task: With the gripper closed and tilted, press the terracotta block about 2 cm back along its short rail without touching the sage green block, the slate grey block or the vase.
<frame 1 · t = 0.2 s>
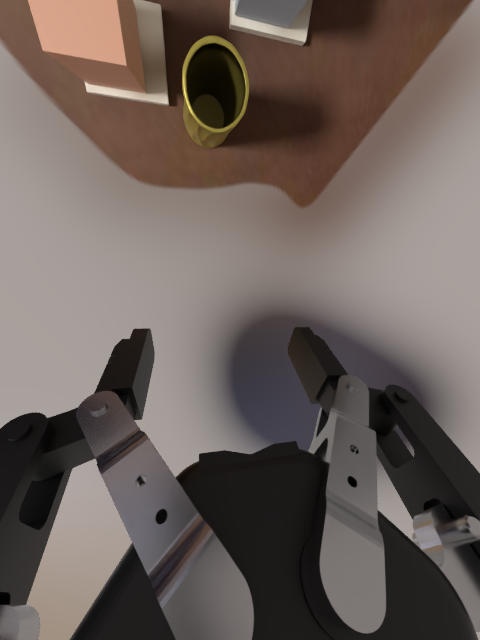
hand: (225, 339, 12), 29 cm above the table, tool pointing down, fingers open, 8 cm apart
terracotta block: (95, 26, 19), point 6 cm above the table, slide at 0.0 cm
vase: (207, 118, 28), on the table
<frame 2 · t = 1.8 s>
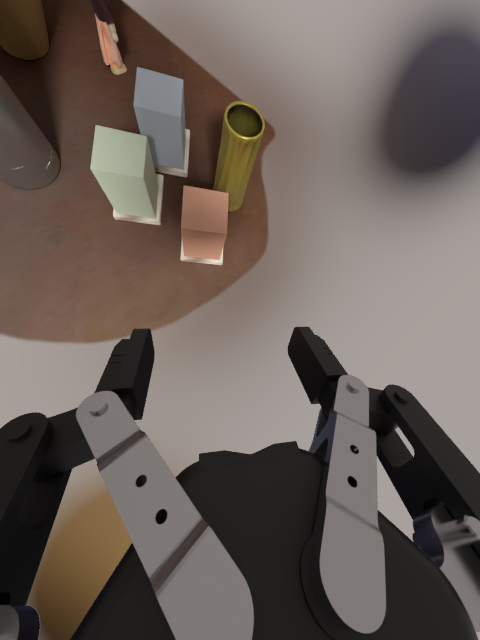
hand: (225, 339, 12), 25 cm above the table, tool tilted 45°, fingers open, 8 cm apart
block bases: (170, 203, 38), on the table
grandmother figurine: (117, 67, 39), on the table
sage block: (130, 178, 31), point 6 cm above the table, slide at 0.0 cm
terracotta block: (204, 227, 33), point 6 cm above the table, slide at 0.0 cm
slate block: (163, 125, 33), point 6 cm above the table, slide at 0.0 cm
vase: (227, 197, 40), on the table
plant pot: (26, 43, 36), on the table
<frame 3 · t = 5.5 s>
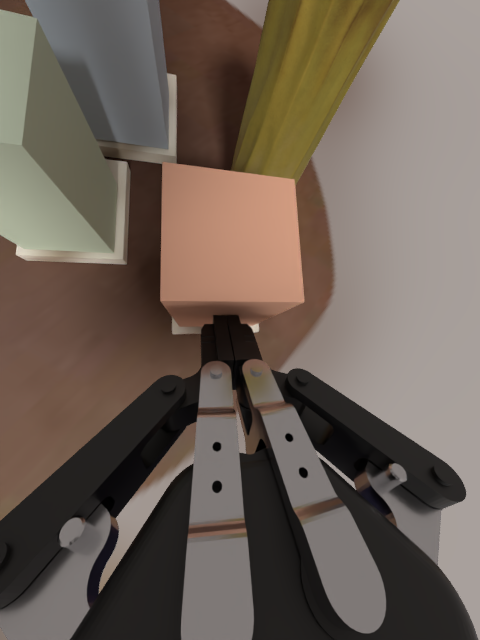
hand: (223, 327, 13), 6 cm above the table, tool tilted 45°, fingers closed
block bases: (146, 217, 19), on the table
sage block: (28, 165, 12), point 6 cm above the table, slide at 0.0 cm
terracotta block: (222, 271, 13), point 6 cm above the table, slide at 0.1 cm, touching gripper
slate block: (113, 41, 14), point 6 cm above the table, slide at 0.0 cm
vase: (254, 199, 21), on the table
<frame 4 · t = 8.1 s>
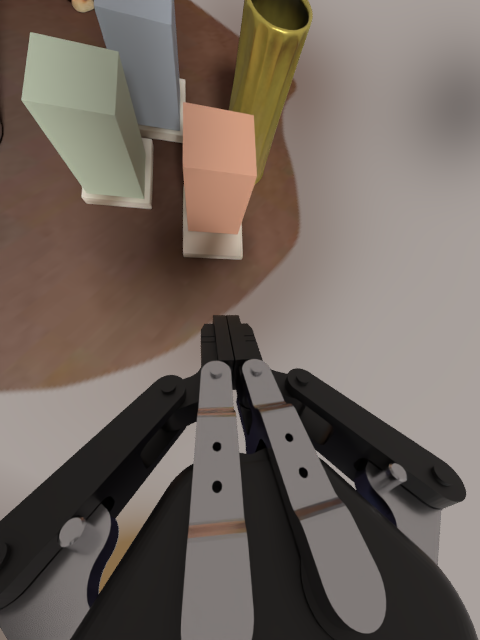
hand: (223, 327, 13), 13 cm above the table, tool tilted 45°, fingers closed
block bases: (164, 178, 27), on the table
grandmother figurine: (81, 4, 29), on the table
sage block: (100, 134, 20), point 6 cm above the table, slide at 0.0 cm
terracotta block: (215, 181, 22), point 6 cm above the table, slide at 2.4 cm
slate block: (147, 59, 22), point 6 cm above the table, slide at 0.0 cm
vase: (241, 168, 30), on the table
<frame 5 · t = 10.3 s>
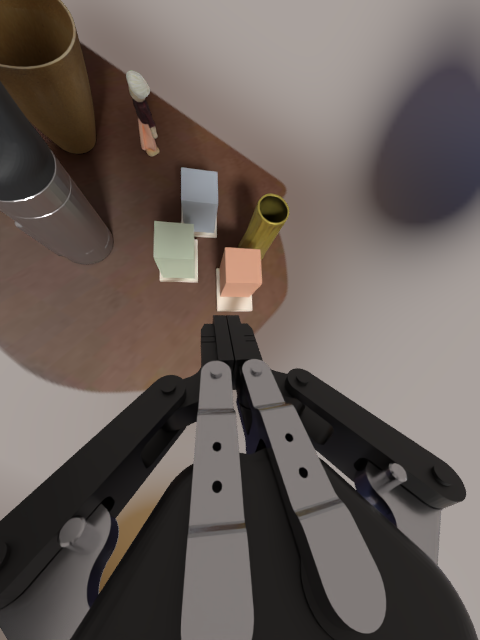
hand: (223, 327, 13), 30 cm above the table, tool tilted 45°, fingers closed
block bases: (204, 262, 44), on the table
grandmother figurine: (151, 149, 46), on the table
sage block: (177, 253, 37), point 6 cm above the table, slide at 0.0 cm
terracotta block: (238, 275, 39), point 6 cm above the table, slide at 2.4 cm
slate block: (199, 203, 40), point 6 cm above the table, slide at 0.0 cm
vase: (250, 251, 47), on the table
plant pot: (77, 139, 43), on the table
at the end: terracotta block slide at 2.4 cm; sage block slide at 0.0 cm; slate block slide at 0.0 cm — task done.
